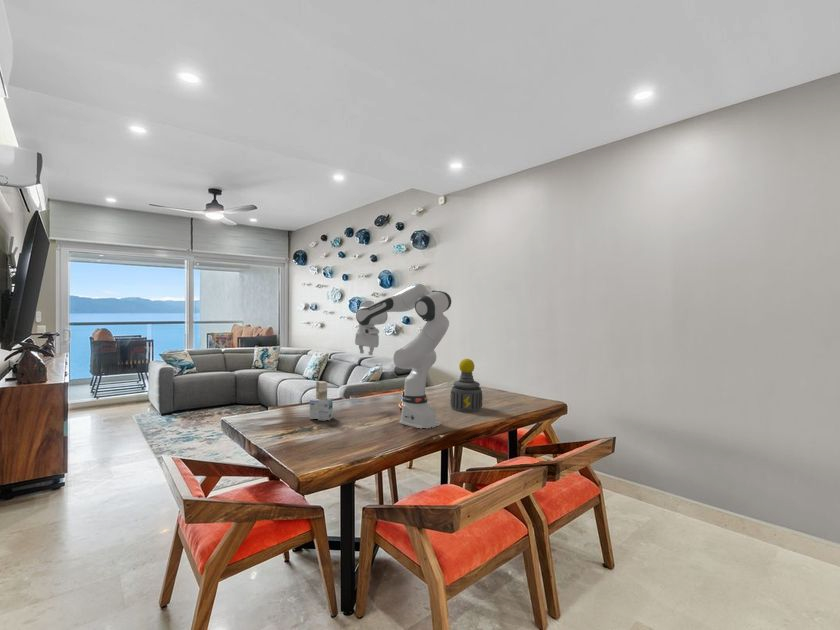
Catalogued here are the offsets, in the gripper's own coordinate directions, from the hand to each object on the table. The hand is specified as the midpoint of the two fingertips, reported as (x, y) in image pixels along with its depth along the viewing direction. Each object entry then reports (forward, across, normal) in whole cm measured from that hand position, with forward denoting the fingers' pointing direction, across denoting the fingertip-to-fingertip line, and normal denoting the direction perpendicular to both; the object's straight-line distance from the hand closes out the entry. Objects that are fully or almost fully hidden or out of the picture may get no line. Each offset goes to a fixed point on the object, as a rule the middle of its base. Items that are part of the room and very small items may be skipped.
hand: (366, 354), depth 238 cm
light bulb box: (+33, -2, -26) cm, 42 cm away
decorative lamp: (+33, +26, +54) cm, 69 cm away
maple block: (+22, -2, -26) cm, 34 cm away
